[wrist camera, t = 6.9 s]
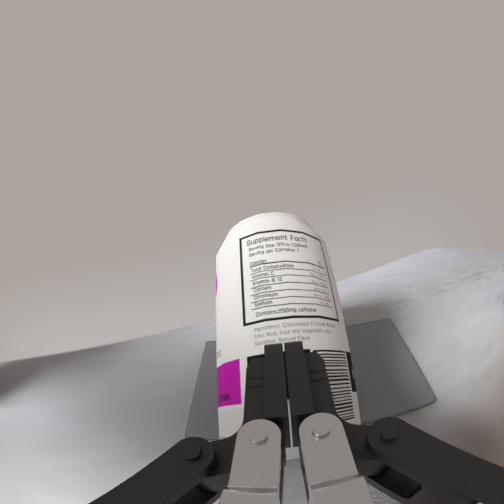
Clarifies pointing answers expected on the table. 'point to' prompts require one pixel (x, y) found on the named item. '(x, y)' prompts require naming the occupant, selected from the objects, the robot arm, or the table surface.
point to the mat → (365, 373)
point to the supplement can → (277, 311)
